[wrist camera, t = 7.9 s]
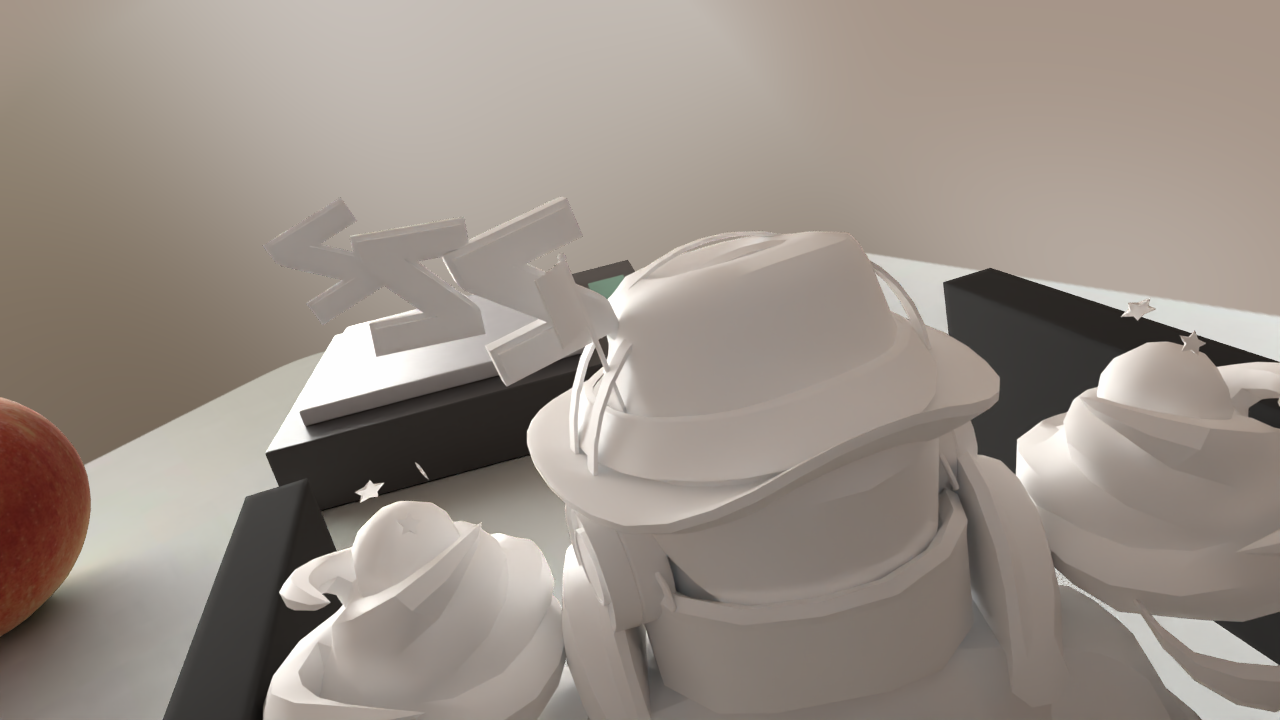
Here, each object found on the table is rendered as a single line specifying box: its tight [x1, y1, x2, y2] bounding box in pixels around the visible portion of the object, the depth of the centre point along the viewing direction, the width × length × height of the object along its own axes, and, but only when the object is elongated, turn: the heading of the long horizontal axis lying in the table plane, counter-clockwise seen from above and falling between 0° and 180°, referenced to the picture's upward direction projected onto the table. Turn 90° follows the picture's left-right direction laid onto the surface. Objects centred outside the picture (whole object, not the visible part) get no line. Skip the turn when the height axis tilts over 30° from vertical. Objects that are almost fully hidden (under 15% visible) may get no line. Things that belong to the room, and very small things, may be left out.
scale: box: [266, 260, 635, 510], centre depth 36 cm, size 14×13×3 cm
